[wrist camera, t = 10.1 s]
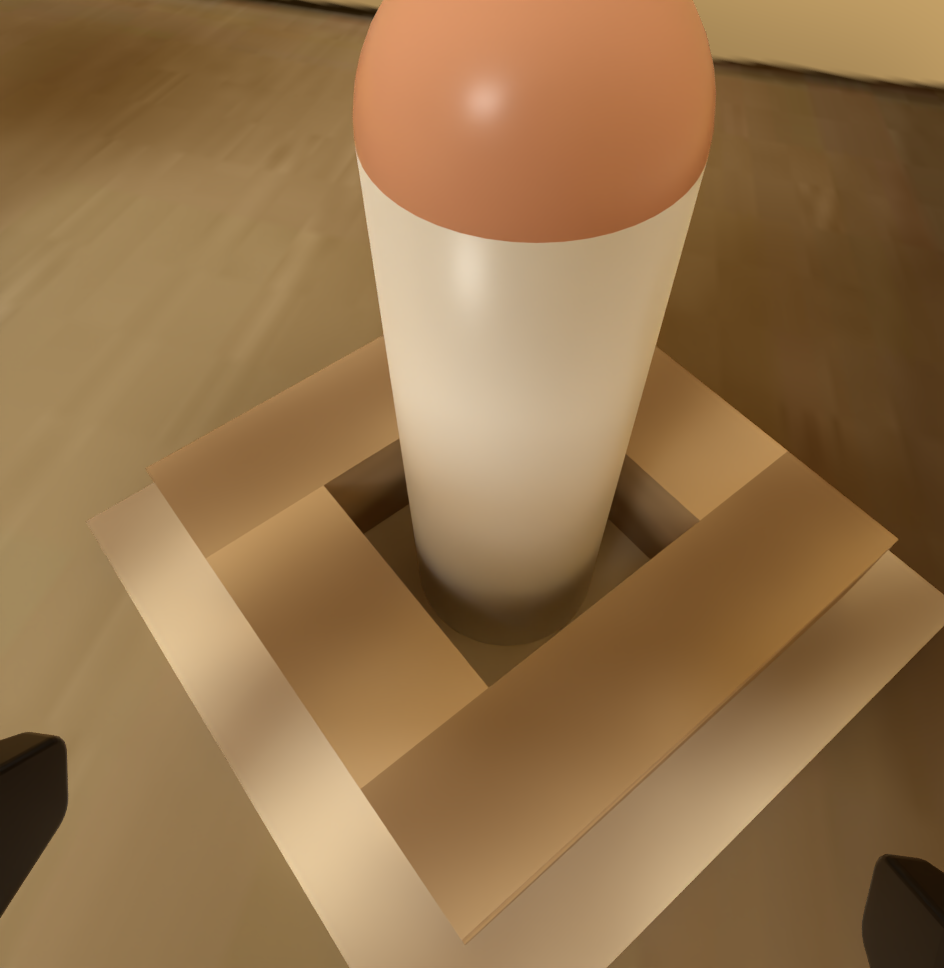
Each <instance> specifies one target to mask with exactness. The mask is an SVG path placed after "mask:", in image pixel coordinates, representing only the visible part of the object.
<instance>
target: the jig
mask: <svg viewBox="0 0 944 968" xmlns="http://www.w3.org/2000/svg"><path fill="white" fill-rule="evenodd" d="M145 469H146V471H147V472H148V474H149V475H150V477H151V478H152V480H153V481H154V483H152V484H150V485H148V486H147V487H145V488H143V489H141V490H140V491H138V492H136V493H134V494H133V495H131V496H129V497H127V498H126V499H124V500H122V501H120V502H119V503H117V504H115V505H113V506H112V507H110V508H108V509H106V510H105V511H103V512H101V513H99V514H98V515H96V516H94V517H92V518H91V519H89V520H87V521H86V523H87V525H88V526H89V528H90V530H91V531H92V533H93V535H94V536H95V538H96V540H97V542H98V543H99V545H100V547H101V548H102V550H103V552H104V553H105V555H106V557H107V558H108V560H109V562H110V564H111V565H112V567H113V569H114V570H115V572H116V574H117V575H118V577H119V579H120V580H121V582H122V584H123V586H124V587H125V589H126V591H127V592H128V594H129V596H130V597H131V599H132V601H133V602H134V604H135V606H136V607H137V609H138V611H139V613H140V614H141V616H142V618H143V619H144V621H145V623H146V624H147V626H148V628H149V629H150V631H151V633H152V635H153V636H154V638H155V640H156V641H157V643H158V645H159V646H160V648H161V650H162V651H163V653H164V655H165V656H166V658H167V660H168V662H169V663H170V665H171V667H172V668H173V670H174V672H175V673H176V675H177V677H178V678H179V680H180V682H181V684H182V685H183V687H184V689H185V690H186V692H187V694H188V695H189V697H190V699H191V700H192V702H193V704H194V706H195V707H196V709H197V711H198V712H199V714H200V716H201V717H202V719H203V721H204V722H205V724H206V726H207V727H208V729H209V731H210V733H211V734H212V736H213V738H214V739H215V741H216V743H217V744H218V746H219V748H220V749H221V751H222V753H223V755H224V756H225V758H226V760H227V761H228V763H229V765H230V766H231V768H232V770H233V771H234V773H235V775H236V776H237V778H238V780H239V782H240V783H241V785H242V787H243V788H244V790H245V792H246V793H247V795H248V797H249V798H250V800H251V802H252V804H253V805H254V807H255V809H256V810H257V812H258V814H259V815H260V817H261V819H262V820H263V822H264V824H265V826H266V827H267V829H268V831H269V832H270V834H271V836H272V837H273V839H274V841H275V842H276V844H277V846H278V847H279V849H280V851H281V853H282V854H283V856H284V858H285V859H286V861H287V863H288V864H289V866H290V868H291V869H292V871H293V873H294V875H295V876H296V878H297V880H298V881H299V883H300V885H301V886H302V888H303V890H304V891H305V893H306V895H307V896H308V898H309V900H310V902H311V903H312V905H313V907H314V908H315V910H316V912H317V913H318V915H319V917H320V918H321V920H322V922H323V924H324V925H325V927H326V929H327V930H328V932H329V934H330V935H331V937H332V939H333V940H334V942H335V944H336V946H337V947H338V949H339V951H340V952H341V954H342V956H343V957H344V959H345V961H346V962H347V964H348V966H349V967H350V968H607V967H608V966H609V965H610V964H611V963H612V962H613V961H614V960H615V959H616V958H617V957H618V955H619V954H620V953H621V952H622V951H623V950H624V949H625V948H626V947H627V946H628V945H629V944H630V943H631V942H632V941H633V940H634V939H635V938H636V937H637V936H638V935H639V934H640V933H641V932H642V931H643V930H644V929H645V928H646V927H647V926H648V925H649V924H650V923H651V922H652V921H653V920H654V919H655V918H656V917H657V916H658V915H659V914H660V913H661V912H662V911H663V910H664V909H665V908H666V907H667V906H668V905H669V904H670V903H671V902H672V901H673V900H674V899H675V898H676V897H677V896H678V895H679V894H680V893H681V892H682V891H683V890H684V889H685V888H686V887H687V886H688V885H689V884H690V882H691V881H692V880H693V879H694V878H695V877H696V876H697V875H698V874H699V873H700V872H701V871H702V870H703V869H704V868H705V867H706V866H707V865H708V864H709V863H710V862H711V861H712V860H713V859H714V858H715V857H716V856H717V855H718V854H719V853H720V852H721V851H722V850H723V849H724V848H725V847H726V846H727V845H728V844H729V843H730V842H731V841H732V840H733V839H734V838H735V837H736V836H737V835H738V834H739V833H740V832H741V831H742V830H743V829H744V828H745V827H746V826H747V825H748V824H749V823H750V822H751V821H752V820H753V819H754V818H755V817H756V816H757V815H758V814H759V813H760V812H761V811H762V809H763V808H764V807H765V806H766V805H767V804H768V803H769V802H770V801H771V800H772V799H773V798H774V797H775V796H776V795H777V794H778V793H779V792H780V791H781V790H782V789H783V788H784V787H785V786H786V785H787V784H788V783H789V782H790V781H791V780H792V779H793V778H794V777H795V776H796V775H797V774H798V773H799V772H800V771H801V770H802V769H803V768H804V767H805V766H806V765H807V764H808V763H809V762H810V761H811V760H812V759H813V758H814V757H815V756H816V755H817V754H818V753H819V752H820V751H821V750H822V749H823V748H824V747H825V746H826V745H827V744H828V743H829V742H830V741H831V740H832V739H833V738H834V736H835V735H836V734H837V733H838V732H839V731H840V730H841V729H842V728H843V727H844V726H845V725H846V724H847V723H848V722H849V721H850V720H851V719H852V718H853V717H854V716H855V715H856V714H857V713H858V712H859V711H860V710H861V709H862V708H863V707H864V706H865V705H866V704H867V703H868V702H869V701H870V700H871V699H872V698H873V697H874V696H875V695H876V694H877V693H878V692H879V691H880V690H881V689H882V688H883V687H884V686H885V685H886V684H887V683H888V682H889V681H890V680H891V679H892V678H893V677H894V676H895V675H896V674H897V673H898V672H899V671H900V670H901V669H902V668H903V667H904V666H905V665H906V663H907V662H908V661H909V660H910V659H911V658H912V657H913V656H914V655H915V654H916V653H917V652H918V651H919V650H920V649H921V648H922V647H923V646H924V645H925V644H926V643H927V642H928V641H929V640H930V639H931V638H932V637H933V636H934V635H935V634H936V633H937V632H938V631H939V630H940V629H941V628H942V627H943V626H944V595H943V594H942V593H941V592H940V591H938V590H937V589H936V588H935V587H933V586H932V585H931V584H930V583H928V582H927V581H926V580H925V579H923V578H922V577H921V576H920V575H919V574H917V573H916V572H915V571H914V570H912V569H911V568H910V567H909V566H907V565H906V564H905V563H904V562H902V561H901V560H900V559H899V558H898V557H896V556H895V555H894V554H893V553H891V552H890V551H889V549H890V548H891V547H892V546H893V545H894V544H895V543H896V541H897V540H898V538H896V537H895V536H894V535H893V534H891V533H890V532H889V531H888V530H886V529H885V528H884V527H883V526H881V525H880V524H879V523H878V522H876V521H875V520H874V519H873V518H871V517H870V516H869V515H868V514H866V513H865V512H864V511H862V510H861V509H860V508H859V507H857V506H856V505H855V504H854V503H852V502H851V501H850V500H849V499H847V498H846V497H845V496H844V495H842V494H841V493H840V492H839V491H837V490H836V489H835V488H834V487H832V486H831V485H830V484H829V483H827V482H826V481H825V480H824V479H822V478H821V477H820V476H819V475H817V474H816V473H815V472H814V471H812V470H811V469H810V468H809V467H807V466H806V465H805V464H804V463H802V462H801V461H800V460H798V459H797V458H796V457H795V456H793V455H792V454H791V453H790V452H788V451H787V450H786V449H785V448H783V447H782V446H781V445H780V444H778V443H777V442H776V441H775V440H773V439H772V438H771V437H770V436H768V435H767V434H766V433H765V432H763V431H762V430H761V429H760V428H758V427H757V426H756V425H755V424H753V423H752V422H751V421H750V420H748V419H747V418H746V417H745V416H743V415H742V414H741V413H740V412H738V411H737V410H736V409H734V408H733V407H732V406H731V405H729V404H728V403H727V402H726V401H724V400H723V399H722V398H721V397H719V396H718V395H717V394H716V393H714V392H713V391H712V390H711V389H709V388H708V387H707V386H706V385H704V384H703V383H702V382H701V381H699V380H698V379H697V378H696V377H694V376H693V375H692V374H691V373H689V372H688V371H687V370H686V369H684V368H683V367H682V366H681V365H679V364H678V363H677V362H676V361H674V360H673V359H672V358H670V357H669V356H668V355H667V354H665V353H664V352H663V351H662V350H660V349H659V348H658V347H657V346H655V350H654V353H653V357H652V361H651V364H650V368H649V371H648V375H647V379H646V382H645V386H644V389H643V393H642V397H641V400H640V404H639V407H638V411H637V415H636V418H635V422H634V425H633V429H632V433H631V436H630V440H629V443H628V447H627V451H626V454H625V458H624V461H623V465H622V469H621V472H620V476H619V479H618V483H617V487H616V490H615V494H614V497H613V501H612V505H611V508H610V512H609V515H608V519H607V523H606V526H605V530H604V533H603V537H602V541H601V544H600V548H599V551H598V555H597V559H596V562H595V566H594V569H593V573H592V577H591V580H590V584H589V587H588V591H587V594H586V597H585V599H584V601H583V603H582V605H581V606H580V608H579V609H578V611H577V613H576V614H575V615H574V616H573V617H572V618H571V620H570V621H569V622H567V623H566V624H565V625H564V626H563V627H562V628H560V629H559V630H557V631H556V632H554V633H553V634H551V635H549V636H547V637H545V638H543V639H540V640H537V641H534V642H531V643H527V644H521V645H511V646H502V645H492V644H487V643H482V642H479V641H476V640H473V639H470V638H468V637H466V636H464V635H462V634H460V633H459V632H457V631H456V630H454V629H453V628H451V627H450V626H449V625H448V624H446V623H445V622H444V621H443V620H442V619H441V618H440V617H439V616H438V615H437V613H436V612H435V611H434V609H433V608H432V606H431V605H430V604H429V602H428V599H427V597H426V595H425V593H424V590H423V587H422V584H421V578H420V571H419V565H418V558H417V551H416V545H415V538H414V532H413V525H412V518H411V512H410V505H409V498H408V492H407V485H406V479H405V472H404V465H403V459H402V452H401V445H400V439H399V432H398V426H397V419H396V412H395V406H394V399H393V392H392V386H391V379H390V373H389V366H388V359H387V353H386V346H385V339H384V335H382V336H381V337H379V338H377V339H375V340H373V341H372V342H370V343H368V344H366V345H364V346H363V347H361V348H359V349H357V350H356V351H354V352H352V353H350V354H348V355H347V356H345V357H343V358H341V359H339V360H338V361H336V362H334V363H332V364H331V365H329V366H327V367H325V368H323V369H322V370H320V371H318V372H316V373H315V374H313V375H311V376H309V377H307V378H306V379H304V380H302V381H300V382H298V383H297V384H295V385H293V386H291V387H290V388H288V389H286V390H284V391H282V392H281V393H279V394H277V395H275V396H274V397H272V398H270V399H268V400H266V401H265V402H263V403H261V404H259V405H257V406H256V407H254V408H252V409H250V410H249V411H247V412H245V413H243V414H241V415H240V416H238V417H236V418H234V419H232V420H231V421H229V422H227V423H225V424H224V425H222V426H220V427H218V428H216V429H215V430H213V431H211V432H209V433H208V434H206V435H204V436H202V437H200V438H199V439H197V440H195V441H193V442H191V443H190V444H188V445H186V446H184V447H183V448H181V449H179V450H177V451H175V452H174V453H172V454H170V455H168V456H167V457H165V458H163V459H161V460H159V461H158V462H156V463H154V464H152V465H150V466H149V467H147V468H145Z"/></svg>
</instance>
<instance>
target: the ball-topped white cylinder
mask: <svg viewBox="0 0 944 968" xmlns="http://www.w3.org/2000/svg"><path fill="white" fill-rule="evenodd" d="M715 102H716V87H715V75H714V66H713V61H712V55H711V52H710V48H709V43H708V38H707V34H706V31H705V29H704V26H703V24H702V21H701V19H700V16H699V14H698V12H697V9H696V7H695V5H694V2H693V0H383V1H382V3H381V5H380V7H379V9H378V11H377V13H376V14H375V16H374V18H373V20H372V22H371V24H370V27H369V30H368V33H367V36H366V38H365V41H364V44H363V47H362V51H361V54H360V57H359V62H358V67H357V72H356V77H355V84H354V101H353V129H354V141H355V147H356V154H357V161H358V167H359V174H360V181H361V187H362V194H363V200H364V207H365V214H366V220H367V227H368V234H369V240H370V247H371V253H372V260H373V267H374V273H375V280H376V287H377V293H378V300H379V306H380V313H381V320H382V326H383V333H384V339H385V346H386V353H387V359H388V366H389V373H390V379H391V386H392V392H393V399H394V406H395V412H396V419H397V426H398V432H399V439H400V445H401V452H402V459H403V465H404V472H405V479H406V485H407V492H408V498H409V505H410V512H411V518H412V525H413V532H414V538H415V545H416V551H417V558H418V565H419V571H420V578H421V584H422V587H423V590H424V593H425V595H426V597H427V599H428V602H429V604H430V605H431V606H432V608H433V609H434V611H435V612H436V613H437V615H438V616H439V617H440V618H441V619H442V620H443V621H444V622H445V623H446V624H448V625H449V626H450V627H451V628H453V629H454V630H456V631H457V632H459V633H460V634H462V635H464V636H466V637H468V638H470V639H473V640H476V641H479V642H482V643H487V644H492V645H502V646H511V645H521V644H527V643H531V642H534V641H537V640H540V639H543V638H545V637H547V636H549V635H551V634H553V633H554V632H556V631H557V630H559V629H560V628H562V627H563V626H564V625H565V624H566V623H567V622H569V621H570V620H571V618H572V617H573V616H574V615H575V614H576V613H577V611H578V609H579V608H580V606H581V605H582V603H583V601H584V599H585V597H586V594H587V591H588V587H589V584H590V580H591V577H592V573H593V569H594V566H595V562H596V559H597V555H598V551H599V548H600V544H601V541H602V537H603V533H604V530H605V526H606V523H607V519H608V515H609V512H610V508H611V505H612V501H613V497H614V494H615V490H616V487H617V483H618V479H619V476H620V472H621V469H622V465H623V461H624V458H625V454H626V451H627V447H628V443H629V440H630V436H631V433H632V429H633V425H634V422H635V418H636V415H637V411H638V407H639V404H640V400H641V397H642V393H643V389H644V386H645V382H646V379H647V375H648V371H649V368H650V364H651V361H652V357H653V353H654V350H655V346H656V343H657V339H658V335H659V332H660V328H661V325H662V321H663V317H664V314H665V310H666V307H667V303H668V299H669V296H670V292H671V289H672V285H673V281H674V278H675V274H676V271H677V267H678V263H679V260H680V256H681V253H682V249H683V245H684V242H685V238H686V235H687V231H688V227H689V224H690V220H691V217H692V213H693V209H694V206H695V202H696V199H697V195H698V191H699V188H700V184H701V181H702V177H703V173H704V170H705V166H706V163H707V159H708V155H709V151H710V146H711V141H712V137H713V132H714V119H715Z"/></svg>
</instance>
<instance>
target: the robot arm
mask: <svg viewBox="0 0 944 968" xmlns="http://www.w3.org/2000/svg"><path fill="white" fill-rule="evenodd" d="M67 805H68V773H67V749H66V745H65V742H64V741H63V739H61V738H60V737H59V736H54V735H47V734H40V733H33V732H25V733H21V734H18V735H15V736H12V737H9V738H6V739H3V740H0V917H1V916H2V914H3V913H4V911H5V910H6V908H7V907H8V905H9V903H10V902H11V900H12V899H13V897H14V896H15V894H16V893H17V891H18V890H19V888H20V886H21V885H22V883H23V882H24V880H25V879H26V877H27V876H28V874H29V873H30V871H31V869H32V868H33V866H34V865H35V863H36V862H37V860H38V859H39V857H40V856H41V854H42V852H43V851H44V849H45V848H46V846H47V845H48V843H49V842H50V840H51V839H52V837H53V835H54V834H55V832H56V831H57V829H58V828H59V826H60V824H61V822H62V820H63V818H64V816H65V813H66V810H67ZM862 937H863V943H864V947H865V951H866V954H867V958H868V961H869V964H870V968H944V873H943V872H942V871H940V870H939V869H937V868H936V867H934V866H933V865H931V864H930V863H929V862H927V861H925V860H922V859H919V858H913V857H906V856H898V855H891V854H885V855H883V856H881V857H879V859H878V860H877V862H876V865H875V867H874V871H873V876H872V880H871V884H870V889H869V893H868V897H867V901H866V906H865V910H864V914H863V920H862Z"/></svg>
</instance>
